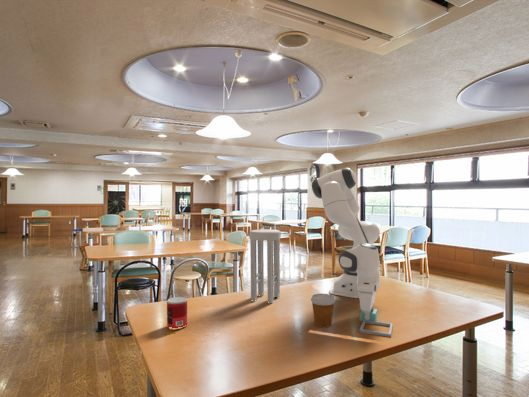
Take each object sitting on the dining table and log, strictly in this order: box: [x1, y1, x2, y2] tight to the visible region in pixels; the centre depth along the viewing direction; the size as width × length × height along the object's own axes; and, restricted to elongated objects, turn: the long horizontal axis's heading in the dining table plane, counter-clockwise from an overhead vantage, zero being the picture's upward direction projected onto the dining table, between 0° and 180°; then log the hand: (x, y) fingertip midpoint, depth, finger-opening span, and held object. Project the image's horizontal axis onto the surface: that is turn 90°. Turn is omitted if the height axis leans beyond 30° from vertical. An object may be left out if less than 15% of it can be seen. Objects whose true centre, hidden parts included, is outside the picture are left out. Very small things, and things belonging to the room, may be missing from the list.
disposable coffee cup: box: [310, 293, 336, 328], centre depth 132 cm, size 10×10×12 cm
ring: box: [359, 307, 378, 322], centre depth 137 cm, size 6×6×4 cm
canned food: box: [166, 296, 188, 328], centre depth 133 cm, size 8×8×11 cm
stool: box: [249, 228, 282, 304], centre depth 169 cm, size 16×16×35 cm
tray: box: [359, 320, 394, 338], centre depth 127 cm, size 11×11×2 cm
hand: (368, 316), depth 137 cm, fingers closed on ring, 6 cm apart
